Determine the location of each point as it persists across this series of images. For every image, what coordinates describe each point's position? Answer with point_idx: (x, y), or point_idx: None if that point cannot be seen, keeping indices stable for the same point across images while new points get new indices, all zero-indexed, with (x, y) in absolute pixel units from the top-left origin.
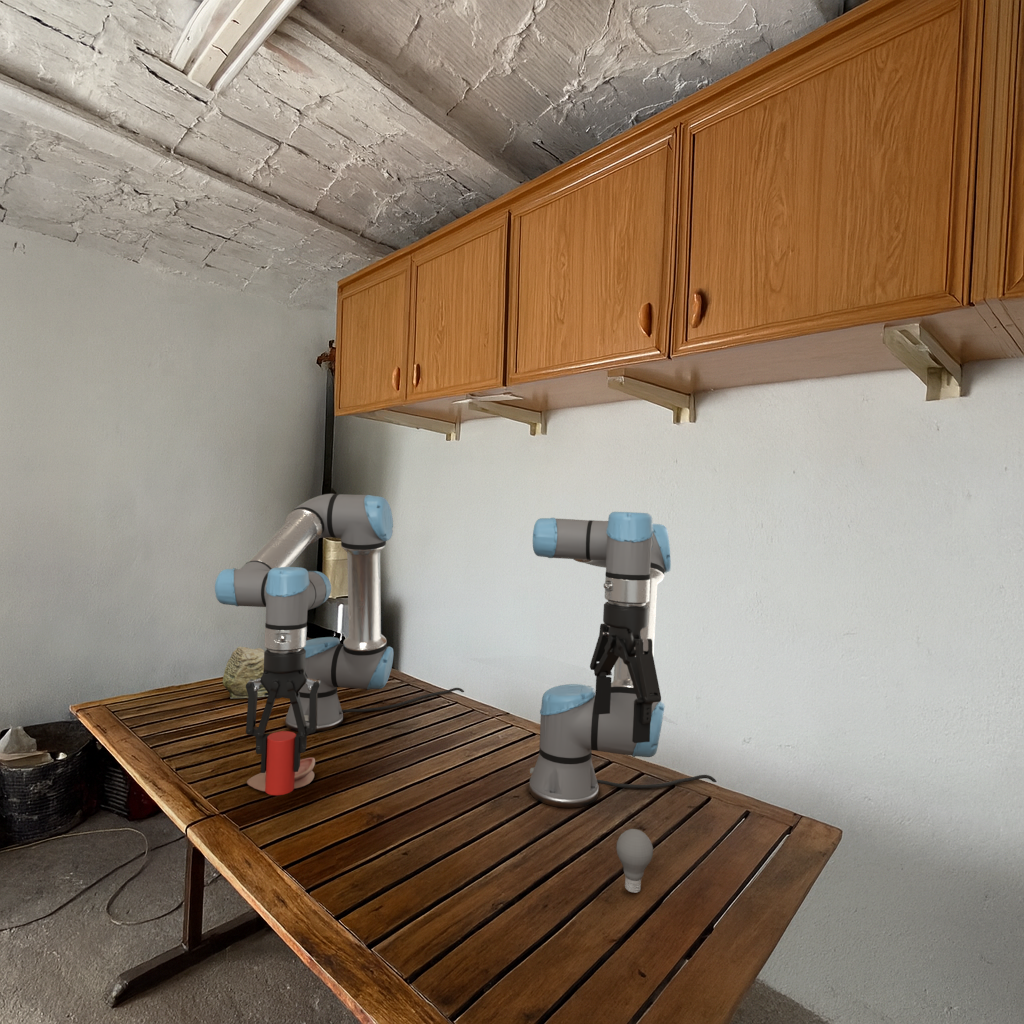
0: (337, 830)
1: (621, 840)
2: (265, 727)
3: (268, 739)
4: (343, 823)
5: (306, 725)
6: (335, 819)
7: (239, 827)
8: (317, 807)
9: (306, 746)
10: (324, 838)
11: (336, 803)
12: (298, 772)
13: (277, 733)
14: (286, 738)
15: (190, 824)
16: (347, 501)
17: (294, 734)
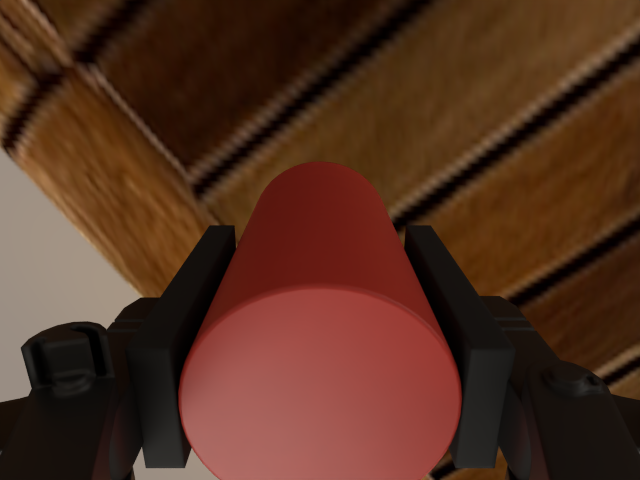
0: (519, 231)
1: None
2: (105, 437)
3: (209, 469)
4: (544, 187)
5: (621, 425)
6: (518, 156)
7: (188, 179)
8: (452, 48)
9: (518, 311)
10: (476, 274)
11: (532, 17)
12: None
13: (259, 347)
14: (374, 467)
15: (7, 141)
16: None
17: (444, 387)
